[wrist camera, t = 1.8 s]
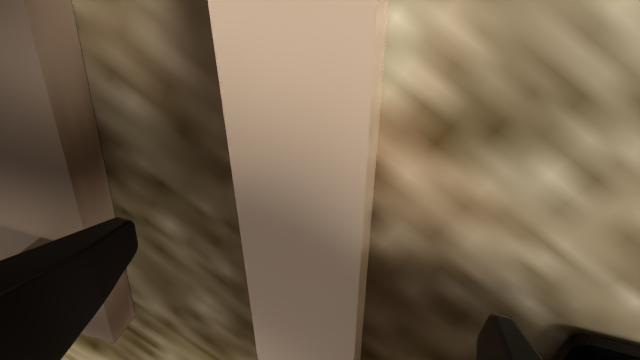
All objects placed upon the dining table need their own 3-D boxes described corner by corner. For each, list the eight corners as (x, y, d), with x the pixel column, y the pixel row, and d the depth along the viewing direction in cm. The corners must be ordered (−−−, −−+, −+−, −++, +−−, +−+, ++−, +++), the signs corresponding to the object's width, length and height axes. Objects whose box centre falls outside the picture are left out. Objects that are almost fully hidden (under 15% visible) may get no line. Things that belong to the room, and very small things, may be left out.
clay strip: (264, -110, 9) (187, -143, 6) (398, -115, 8) (387, -155, 5) (293, 342, 17) (267, 424, 14) (360, 355, 16) (348, 443, 13)
